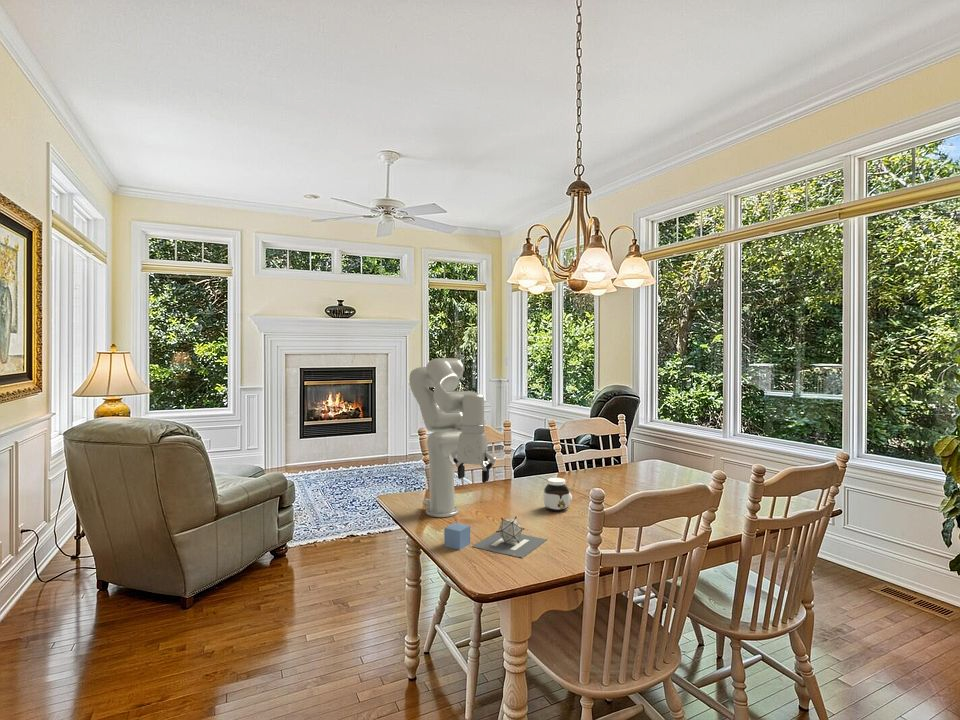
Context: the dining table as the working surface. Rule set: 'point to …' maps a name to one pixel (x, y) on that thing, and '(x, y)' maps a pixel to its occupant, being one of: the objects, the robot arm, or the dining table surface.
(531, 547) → the letter mat
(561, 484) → the spread jar
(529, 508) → the dining table surface
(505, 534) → the game die
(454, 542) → the slate cube
